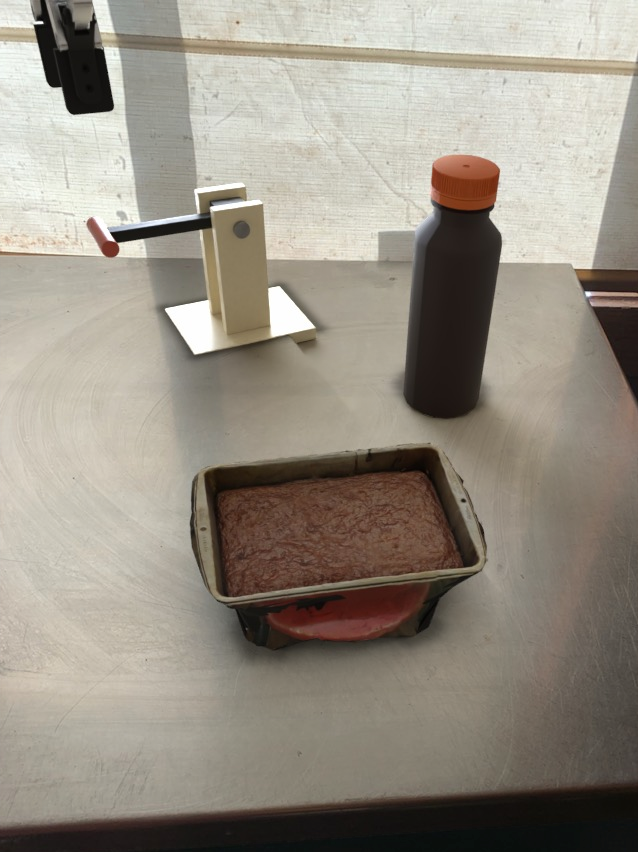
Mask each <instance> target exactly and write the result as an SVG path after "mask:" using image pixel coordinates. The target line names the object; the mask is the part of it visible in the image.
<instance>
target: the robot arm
mask: <svg viewBox="0 0 638 852" xmlns="http://www.w3.org/2000/svg"><path fill="white" fill-rule="evenodd" d="M29 3H30V9H31V13H32V17H33V20H34V22H35V23H34V24H32V25H33V30H34V34H35V38H36V42H37V47H38V51H39V56H40V60H41V64H42V68H43V69H42V70H43V73H44V77H45V81H46V83H47V84H48V86H49V87H50V88H52V89H58V88H61V91H62V96H63V100H64V105H65V108H66V110H67V112H68V113H69V114H70V115H71V116H79V115H89V114H97V113H98V114H100V113H111V112H112V111H113V110H115V103H114V98H113V97H114V96H113V92H112V91H113V90H112V86H111V80H110V74H109V70H108V69H109V68H108V64H107V58H106V52H105V47H104V45H103V40H102V36H101V32H100V28H99V23H98V19H97V15H96V10H95V7H94V1H93V0H29Z"/></svg>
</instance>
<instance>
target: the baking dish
mask: <svg viewBox="0 0 638 852" xmlns="http://www.w3.org/2000/svg"><path fill="white" fill-rule="evenodd" d="M464 482H465V480H464V479H463V477H461V475H460V474H458V472H457V471H456V470H455V468H454V465H453V463H452V462H451V461H450V458H449V457H448V455H446V453H445V451H444V450H443V449H442V448H441V447H439V446H438V445H437V444H433V443H432V442H420V443H419V442H418V443H401V444H397V445H392V446H391V445H390V446H382V447H371V448H366V449H365V448H364V449H362V448H361V449H360V448H359V449H355V450H343V451H342V450H341V451H333V452H325V453H318V454H317V453H316V454H308V455H307V454H306V455H296V456H287V457H277V458H268V459H267V458H266V459H260V460H247V461H235V462H224V463H223V462H222V463H216V464H213V465H212V464H211V465H207V466H205V467H203V468H202V469H200V470H199V471H198V472H197V473H196V474H195V475H194V477H193V479H192V480H191V491H190V505H191V506H190V511H191V513H190V519H189V529H190V531H189V534H190V543H191V550H192V553H193V556H194V558H195V561H196V564H197V567H198V570H199V572H200V575H201V578H202V582H203V584H204V587H205V588H206V589H207V591H208V593H209V594H210V595H211V596H212V597H213V599H214V600H215V601H216V602H217V603H220V604H222V605H225V606H226V608H229V609H231V610H235V612H236V615H237V619H238V622H239V624H240V627H241V630H242V633H243V636H244V637H245V639H246V640H247V641H248V642H250V643H252V644H254V645H255V646H256V647H264V648H266V649H269V650H270V651H275V650H276V649H279V648H283V647H287V646H291V645H295V644H297V643H301V642H306V641H309V640H312V639H319V640H321V641H322V642H344V643H353V644H356V643H359V642H364V641H369V640H376V639H385V638H393V637H401V636H405V637H406V636H407V637H415V636H417V635H419V634H421V633H422V632H424V631H425V630H426V629H428V628H429V627H430V624H431V622H432V620H433V617H434V614H435V612H436V610H437V607H438V605H439V602H440V599H441V598H443V597H444V596H445V595H446V594H447V593H448V592H450V590H451V589H453V588H454V587H456V586H457V585H459V584H461V583H463V582H465V581H466V580H468V579H470V578H472V577H474V576H475V575H478V574H479V573H481V572H482V571H483V570H484V567H485V566H486V563H487V553H488V545H487V541H486V535H485V529H484V527H483V525H482V523H481V522H480V521H479V517H478V514H477V513H476V512H475V509H474V505H473V502H472V499H471V497H470V494H469V492H468V489H466V487H465V485H464Z"/></svg>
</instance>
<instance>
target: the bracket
mask: <svg viewBox="0 0 638 852" xmlns="http://www.w3.org/2000/svg"><path fill="white" fill-rule="evenodd" d="M193 190H194V198H195V206H196V214H200V213H206V212H211V221H212V228H210V229H203V230H198V231H199V238H200V248H201V254H202V255H201V256H202V263H203V272H204V281H205V286H206V287H205V288H206V296H207V300H202V301H197V302H193V303H186V304H182V305H177V306H172V307H166V308H164V311H165V313H166V315H167V316H168V317H169V319H170V320H171V322H172V323H173V325H174V326H175V328H176V329H177V332H178V333H179V335H181V337H182V339H183V340H184V342H185V343H186V345H187V346H188V348H189V350H190V351H191V352H192V354H193V355H194V356H200V355H204V354H209V353H214V352H218V351H223V350H227V349H231V348H235V347H240V346H246V345H249V344H253V343H258V342H262V341H263V342H264V341H268V340H272V339H276V338H282V337H286V336H288V337H290V339H291V340H292V341H293V342H294V343H295V344H299V343H302V342H307V341H311V340H316V339H317V327H316V326H315V325H314V324H313V323H312V322H311V320H310V319H309V318H308V317H307V316H306V314H304V313H303V311H302V310H301V309H300V308H299V307H298V306H297V305H296V304H295V302H294V301H293V300H292V299H291V297H289V295H288V294H287V293H286V291H284V289H282V288H281V286H274V287H269V275H268V259H267V243H266V229H265V214H264V213H265V212H264V203H263V202H262V201H261V200H260V199H255V200H254V199H253V200H249V201H248V194H247V186H246V185H245V184H244V183H243V182H236V183H230V184H222V185H215V186H207V187H201V188H199V187H198V188H195V189H193ZM233 197H241V198H242V199H243V200H244V202H240V203H233V204H227V205H220V206H213V207H210V202H209V201H212V200H219V199H226V198H233Z"/></svg>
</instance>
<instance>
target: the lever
mask: <svg viewBox="0 0 638 852" xmlns="http://www.w3.org/2000/svg"><path fill="white" fill-rule="evenodd" d="M209 202H210V207H213V206H220V205H227V204H233V203H240V202H244V200H243V199H242V198H241V197H233V198H226V199H219V200H212V201H209ZM210 228H212V221H211V212H206V213H200V214H197V213H194V214H187V215H180V216H174V217H168V218H162V219H161V218H160V219H155V220H148V221H141V222H135V223H128V224H122V225H121V224H120V225H115V226H108V227H107V225H106V224H105V222H104V220H103V219H102V218H101V217H98V216H91V217H89V218H88V219H87V221H86V229H87V231H88V232H89V234H90V235H91V237H92V239H93V241H94V242H95V244H96V245H97V247H98V249H99V250H100V252H101V253H102V255H103V256H104V257H106V258H109V259H112V258H116V257H117V256H118V255H119V253H120V245H119V244H121V243H127V242H133V241H141V240H146V239H152V238H153V239H154V238H160V237H165V236H171V235H178V234H184V233H189V232H191V233H192V232H196V231H199V230H203V229H210Z"/></svg>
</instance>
